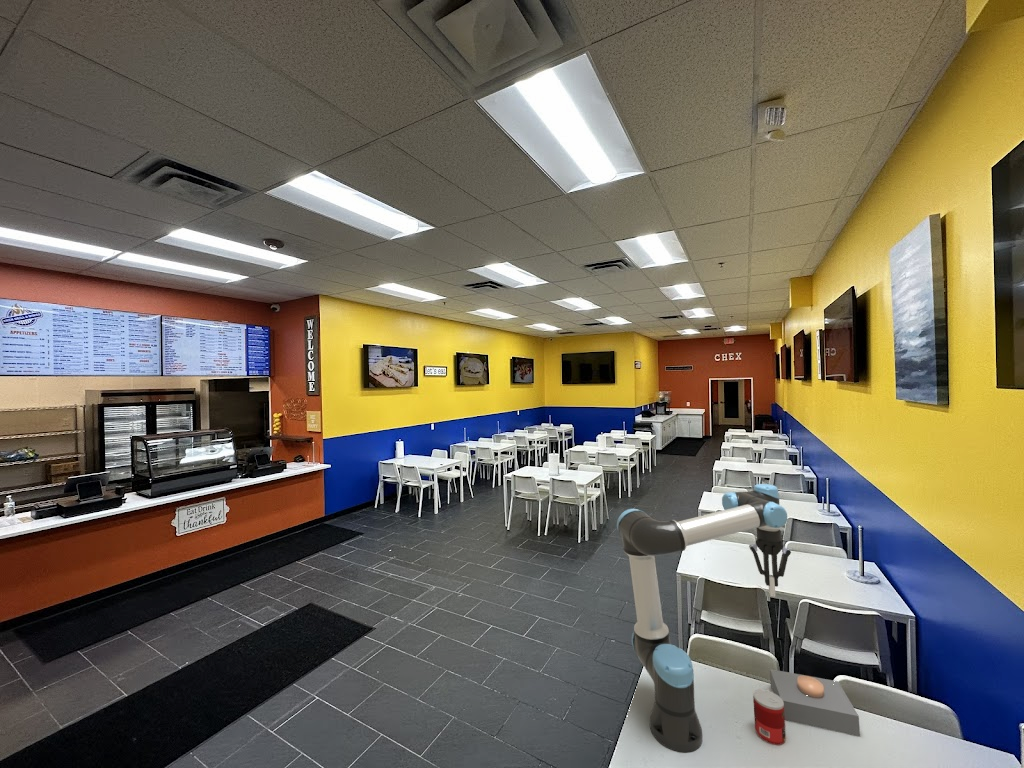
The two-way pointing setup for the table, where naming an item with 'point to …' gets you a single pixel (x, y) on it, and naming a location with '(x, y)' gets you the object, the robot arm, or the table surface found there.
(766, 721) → the canned food
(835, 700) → the control box
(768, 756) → the table surface
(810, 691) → the knob
